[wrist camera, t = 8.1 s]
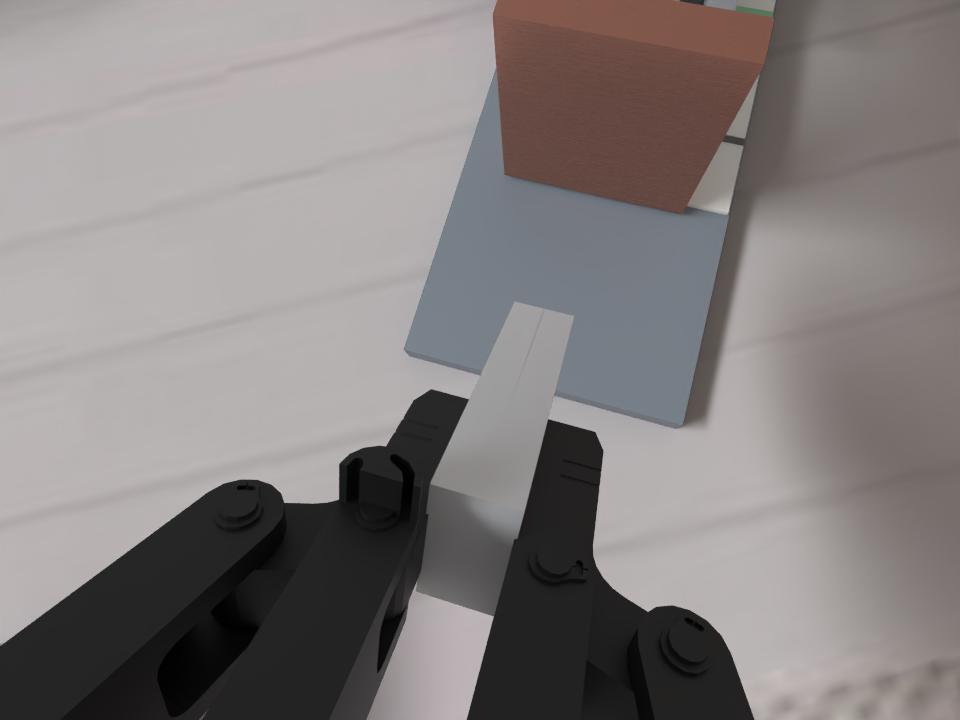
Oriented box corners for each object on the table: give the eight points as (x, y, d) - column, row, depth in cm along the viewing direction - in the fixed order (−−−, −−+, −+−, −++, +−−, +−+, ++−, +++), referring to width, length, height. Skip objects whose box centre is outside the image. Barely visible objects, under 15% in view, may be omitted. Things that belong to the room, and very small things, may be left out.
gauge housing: (675, 428, 25) (760, 390, 16) (409, 355, 26) (347, 283, 17) (785, -61, 30) (896, -301, 21) (556, -96, 31) (567, -332, 22)
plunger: (721, 223, 25) (827, 75, 16) (504, 174, 26) (492, 14, 17) (771, 1, 27) (886, -233, 18) (568, -32, 28) (587, -266, 20)
